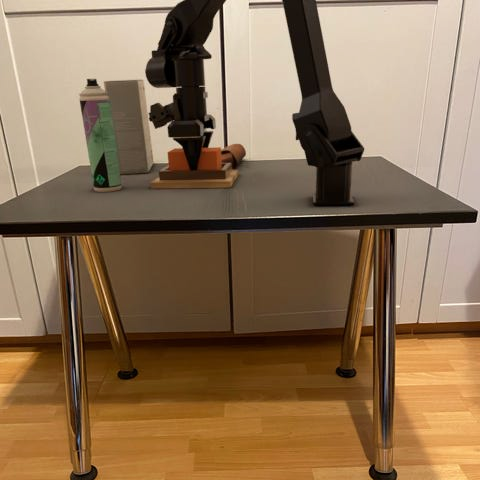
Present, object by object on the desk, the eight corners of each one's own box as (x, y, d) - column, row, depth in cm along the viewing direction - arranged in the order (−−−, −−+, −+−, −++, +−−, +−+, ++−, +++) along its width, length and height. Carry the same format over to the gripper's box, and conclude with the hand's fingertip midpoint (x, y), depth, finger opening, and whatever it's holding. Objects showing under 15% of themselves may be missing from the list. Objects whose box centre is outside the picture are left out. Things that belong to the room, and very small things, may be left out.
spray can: (109, 185, 101) (93, 78, 92) (127, 187, 98) (112, 77, 89) (88, 190, 97) (69, 79, 88) (106, 192, 94) (89, 78, 85)
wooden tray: (230, 187, 94) (229, 171, 93) (151, 188, 96) (149, 173, 95) (238, 175, 107) (238, 161, 105) (168, 176, 109) (167, 162, 107)
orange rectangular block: (217, 176, 98) (216, 151, 95) (169, 177, 99) (167, 152, 96) (222, 171, 103) (220, 147, 101) (176, 172, 104) (174, 148, 102)
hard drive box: (124, 165, 126) (113, 80, 118) (153, 163, 127) (144, 79, 118) (116, 174, 112) (102, 79, 104) (149, 173, 113) (138, 78, 104)
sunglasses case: (214, 157, 129) (226, 134, 126) (237, 171, 130) (249, 148, 127) (202, 169, 113) (215, 142, 110) (228, 184, 114) (242, 158, 111)
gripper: (162, 87, 103) (169, 163, 110) (135, 89, 86) (146, 178, 93) (213, 85, 101) (218, 162, 108) (196, 86, 85) (203, 177, 92)
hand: (196, 169), depth 100 cm, fingers closed on orange rectangular block, 6 cm apart
